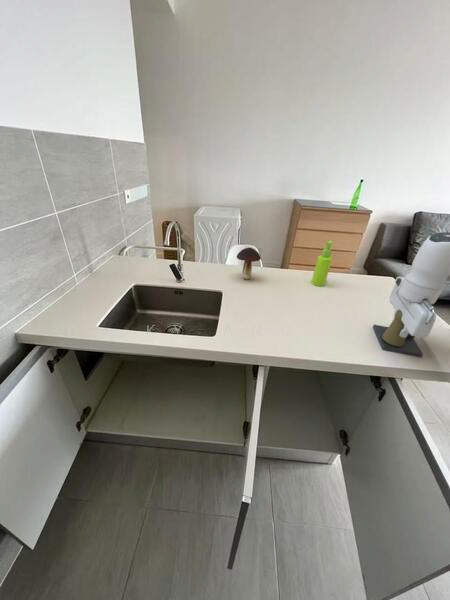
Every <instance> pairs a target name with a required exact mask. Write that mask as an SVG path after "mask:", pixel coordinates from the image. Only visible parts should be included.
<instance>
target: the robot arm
mask: <svg viewBox="0 0 450 600" xmlns="http://www.w3.org/2000/svg"><path fill="white" fill-rule="evenodd" d="M447 282H450V232H448V231H447V232H446V231H445V232H444V231H443V232H437V233H433V234H431V235H430V236H428V237H427V238H426V239H425V240H424V242H423V243H422V244H421V246H420V247H419V249H418V251H417V253H416V255H415V257H414V258H413V261H412V263H411V269H410V271H409V272H408V273H406V275H405V276H396V278H395V281H394V285H393V288H392V290H391V292H390V295H389V303H390V304H391V306H392V308H393V309H394V311H393V319H392V320H391V323H392V322H393V321H394V319H395V313H396V312H397V310H401V312H402V318H401V320H402V322H403V323H404V329H403V330H402V329H400V331H399V333H398V334H399V335H400V337H404V338H405V337H407V335H408V334H409V333H410V335H412V336H415V337H416V338H423V339H425V338H427V337H428V336H429V335H430V333H431V331H432V329H433V327H434V325H435V323H436V320H437V314H436V312H435V310H436V309H435V307H434V304H435V303H436V302H437V301H438V298H439V297H440V295H441V293H442V292H443V290H444V288H445V286H446V283H447ZM415 337H414V338H415Z"/></svg>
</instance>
